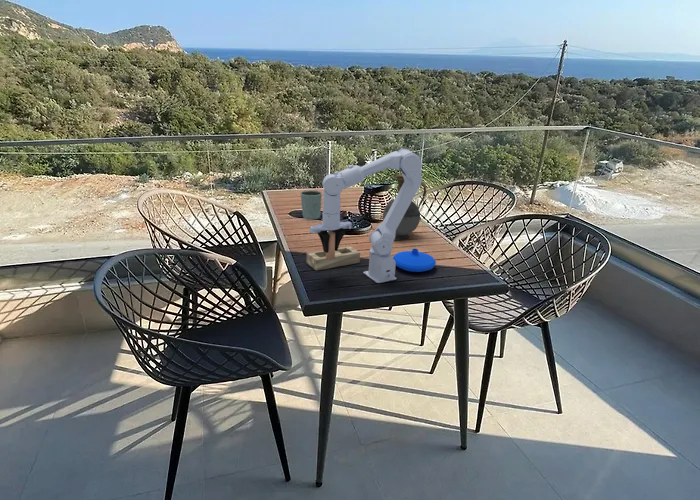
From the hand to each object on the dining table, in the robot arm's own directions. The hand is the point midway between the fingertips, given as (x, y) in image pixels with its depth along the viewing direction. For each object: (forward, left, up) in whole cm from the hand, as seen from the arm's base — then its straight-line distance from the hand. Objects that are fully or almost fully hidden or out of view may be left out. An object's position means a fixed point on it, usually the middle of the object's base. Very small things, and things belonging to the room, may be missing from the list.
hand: (330, 250), depth 151 cm
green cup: (+67, -24, -10) cm, 72 cm away
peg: (0, 0, -3) cm, 3 cm away
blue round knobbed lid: (-5, -32, -10) cm, 34 cm away
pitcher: (+25, -49, -10) cm, 56 cm away
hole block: (+11, -7, -10) cm, 16 cm away
